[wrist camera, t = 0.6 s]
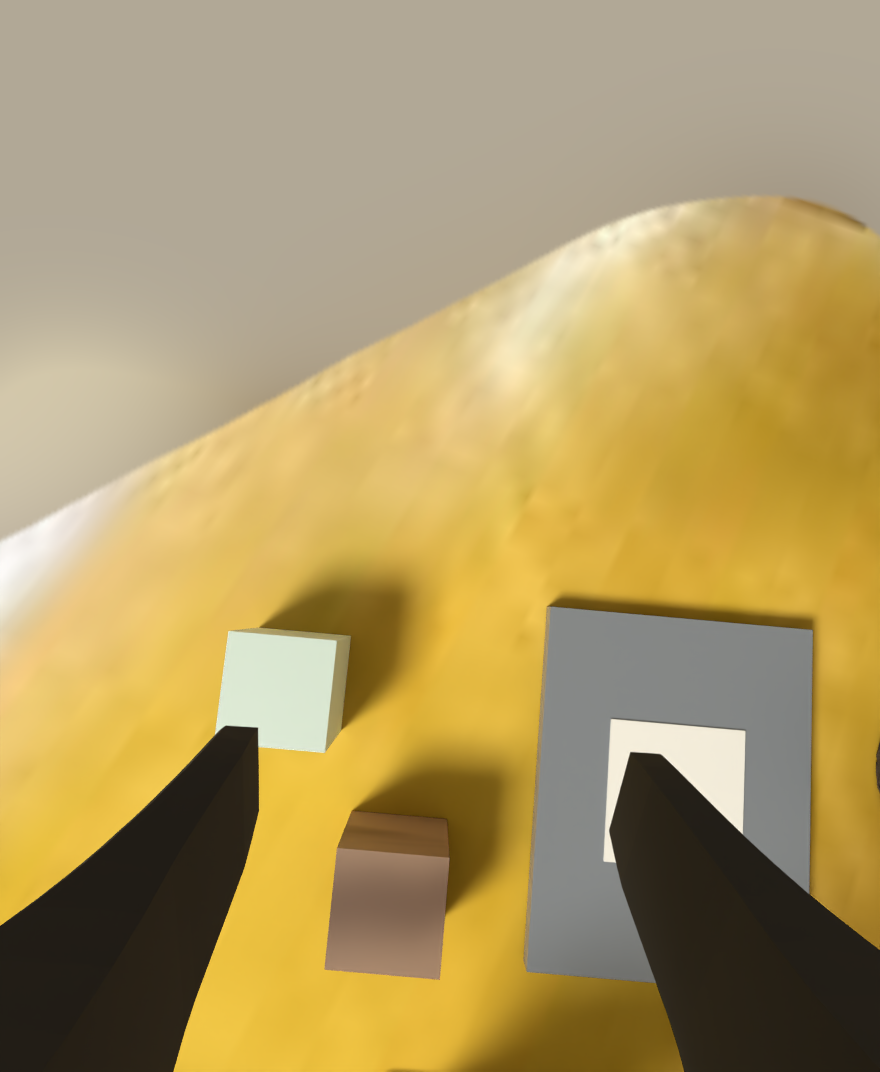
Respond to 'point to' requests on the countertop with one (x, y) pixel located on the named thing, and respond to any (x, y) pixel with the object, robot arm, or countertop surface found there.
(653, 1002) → the countertop surface
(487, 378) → the countertop surface
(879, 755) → the pillar candle
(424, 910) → the walnut block
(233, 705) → the sage block
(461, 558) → the countertop surface
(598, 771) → the base plate
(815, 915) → the robot arm
